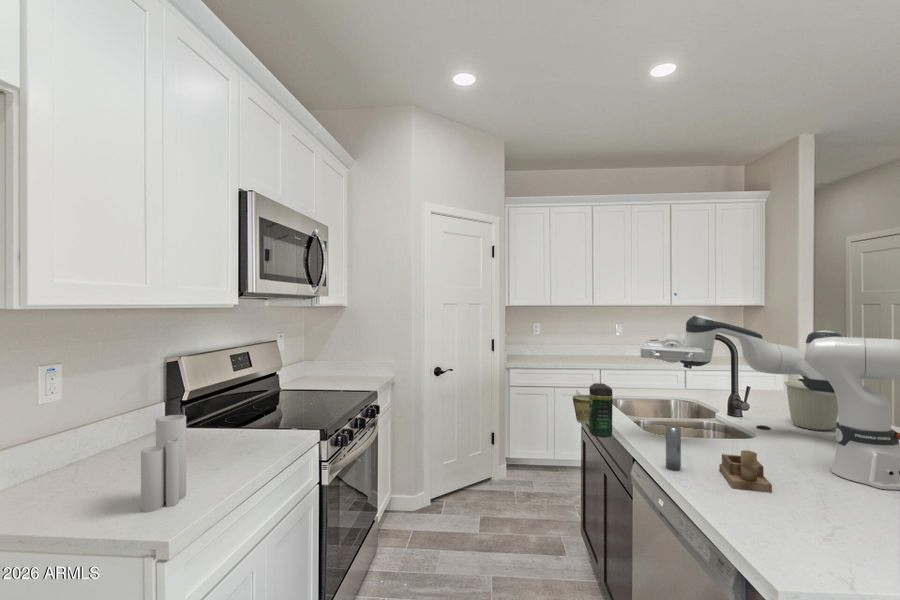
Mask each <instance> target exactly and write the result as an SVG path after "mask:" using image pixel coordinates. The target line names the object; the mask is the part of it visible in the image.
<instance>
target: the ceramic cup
mask: <svg viewBox="0 0 900 600" xmlns="http://www.w3.org/2000/svg"><path fill="white" fill-rule="evenodd" d="M572 404H573V407H574V412H575V418H576V419H575V420H576V422H577V423H580V424H585V425H586V424H587V425H589V406H590V397H589V394H574V395H573V396H572Z"/></svg>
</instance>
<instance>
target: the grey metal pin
mask: <svg viewBox="0 0 900 600" xmlns="http://www.w3.org/2000/svg"><path fill="white" fill-rule="evenodd" d="M681 450H682V428H681V427H680V426H676V425H666V426H665V468H666V469H667V470H670V471H674V472H675V471H676V472H680V471H681V470H682V460H681V459H682V451H681Z"/></svg>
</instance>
